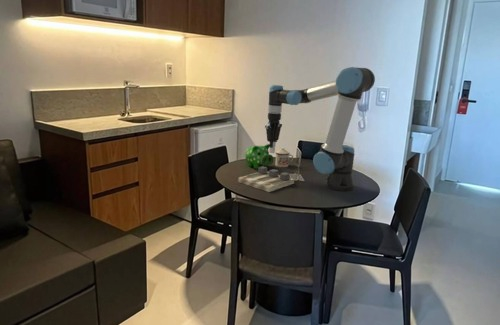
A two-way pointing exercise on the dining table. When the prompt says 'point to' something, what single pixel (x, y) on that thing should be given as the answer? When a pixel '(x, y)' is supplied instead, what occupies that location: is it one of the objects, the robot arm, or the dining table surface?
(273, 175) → the middle tab
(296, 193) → the dining table surface
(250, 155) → the piggy bank
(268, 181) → the switch board
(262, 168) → the far tab
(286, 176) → the near tab
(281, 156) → the teacup with lid
